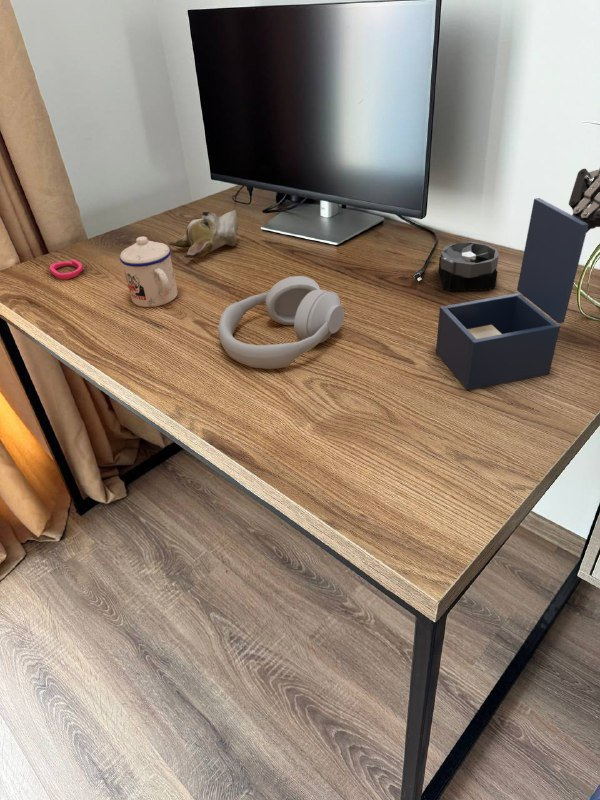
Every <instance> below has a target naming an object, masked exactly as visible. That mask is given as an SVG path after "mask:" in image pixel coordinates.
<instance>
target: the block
mask: <svg viewBox="0 0 600 800" xmlns="http://www.w3.org/2000/svg"><path fill="white" fill-rule="evenodd" d="M467 330H468V331H469V332H470V333H471V334H472V335H473V336H474V337H475V338H476V339H479V338H485V337H490V336H495V335H500V334H501V333H500V332H499V331H498V330H497V329H496V328H495V327H494V326H493V325H487V326H482V327H477V328H471V329H467Z"/></svg>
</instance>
